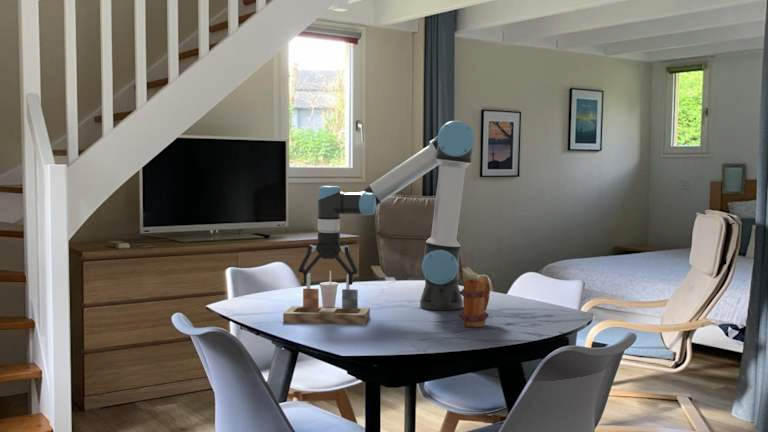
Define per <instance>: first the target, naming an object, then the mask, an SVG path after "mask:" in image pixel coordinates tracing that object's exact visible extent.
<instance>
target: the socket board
mask: <svg viewBox="0 0 768 432" xmlns="http://www.w3.org/2000/svg"><path fill="white" fill-rule="evenodd" d="M319 291H320V290H319V288H310V289H307V288H302V305H291V306H290V307H288V308H287V310H284V312H283V314H282V315H283V316H282V318H283V320H282V321H283V324H288V323H289V324H322V325H323V324H325V325H329V324H330V325H359V324H365V323H367V322H368V320H369V319H370V315H371V308H370V307H359V306H358V302H359V301H358V300H359V299H358V298H359V296H358V292H359V290H358V289H346V288H342V290H341V306H335V307H323V306H319V301H320V297H319V295H320V294H319ZM365 325H366V324H365Z"/></svg>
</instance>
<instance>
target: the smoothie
mask: <svg viewBox="0 0 768 432" xmlns="http://www.w3.org/2000/svg"><path fill="white" fill-rule="evenodd" d="M338 287H339V283H338V282H336V281H332V270H329V281H324V282H323V281H322V282H320V283H319V288H320V295H321V302H322V307H336V300H337V294H338V293H337V292H338Z"/></svg>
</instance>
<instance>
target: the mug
mask: <svg viewBox="0 0 768 432" xmlns="http://www.w3.org/2000/svg"><path fill="white" fill-rule="evenodd" d="M489 281H490V280H489V278H488V276H486V275H479V277H478V278H477V279H475V280H474V279H468V280H464V282H463V289H462V290H460V294H461V296H462V299H463V311H462V312H461V313H460V314H459V315H458V317H459V319H461V321H463V325H464V326H465V327H468V328H481V327H483V326H484V325H485V323H486V320H487V319H488V318H489V313H487V311H486V310H487V307H488V304H489V300H490V292H491V287H490V282H489Z"/></svg>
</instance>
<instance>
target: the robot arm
mask: <svg viewBox="0 0 768 432" xmlns="http://www.w3.org/2000/svg"><path fill="white" fill-rule="evenodd" d="M474 144H475V133H474V131H473V129H472V126H470V125H469V124H468V123H467V122H464V121H463V120H462V121H461V120H450V121H448V122H446V123H444V124H443V125H442V126H441V127H440V129H439V130H438V133H437V136H435V137H434V138H433V139H431V140H430V141H429V143H428V145H427V146H426V147H424V148H423V149H421V150H419V151H418V152H417V153H416V154H414V155H412V156H411V157H409V158H408V159H406V160H405V161H403V162H402V163H401V164H399V165H397V166H396V167H394V168H392V169H391V170H390V171H388V172H387V173H385V174H384V175H383V176H381V177H379V178H378V179H376V180H375V181H373V182H372V183H369V185H367V186H365V187H364V188H363V189H362V190H360V191H358V192H355V191H354V192H352V191H350V192H347V191H346V192H344V191H342V190H341V187H340V186H338V185H322V186H320V187H318V188H319V189H318V194H317V231H318V233H317V244H316V245H313V244H310V245H308V246H307V252H306V254H305V256H304V258H303V260H302V261H301V264H300V266H299V268H298V270H297V271H298V273H301V274H302V275H303V283H304V284H306V289H311V273H309V272H310V271H311V270H312V268H314V267H315V265H317V263H318V262H319V261H320V260H321V259H324V260H334V259H335V260H336V261H337V262H338V264H339V265H340V266H341V267H342V268H343V270H344V271H345V273H347V275H346V276H345V277H346V280H345V281H346V284H345V287H346V288H345V289H350V287H351V286H352V285H353V283H354V282H353V281H354V275H357V274H358V273H359V269H358V267H357V265H356V263H355V261H354V259H353V256H352V254H351V253H350V247H349V245H345V246H341V243H340V241H341V233H340V232H339V231H340V230H341V215H357V216H369V215H374V214H375V213H376V210H377V206H379V205H380V204H381V203H383V202H385V201H386V200H387V199H389V198H390V197H393V196H395V194H397V193H399V191H401V190H403V189H404V188H406V187H408V186H409V185H411V184H412V183H413V182H415V181H416V180H418V179H420V178H421V177H423V176H424V175H426V174H427V173H429V172H430V171H432V170H433V169H434V168H436V167H439V169H438V175H437V177H438V178H437V185H436V192H435V193H436V194H435V201H434V208H433V209H434V211H433V218H432V227H431V235H430V237H429V238H427V239H426V241H425V245H424V246H425V247H424V254H423V260H422V262H421V271H422V273H423V275H424V283H425V284H424V286H423V292H422V293H421V297H420V300H419V307H420V308H421V309H424V310H425V309H426V310H432V311H454V310H455V311H456V310H460V309H461V310H462V309H464V302H463V296H462V295H461V294H460V291H461V290H460V287H459V261H460V259H459V258H460V251H461V244H460V242H459V241H458V240H457V239H458V230H459V223H460V216H461V208H462V207H461V206H462V198H463V192H464V183H465V174H466V169H467V168H468V167H469V166H470V165H471V164H472V156H473V148H474ZM315 251H316V252H317V253H318V254H317V255H316V257H315V258H314V259H313V260H312V261H311V262H310V263H309V265H307V263H308V261H309V259H310V257H311V256H312V253H313V252H315ZM341 251H342V253H344V254H345V257H346V259H347V261H348V263H349V265H350V267H351V268H350V267H349V265H348V264H347V263H346V262H345V260H344V259H343V258H342V256H341V255H340V254H339V253H340V252H341ZM306 265H307V267H306Z"/></svg>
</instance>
